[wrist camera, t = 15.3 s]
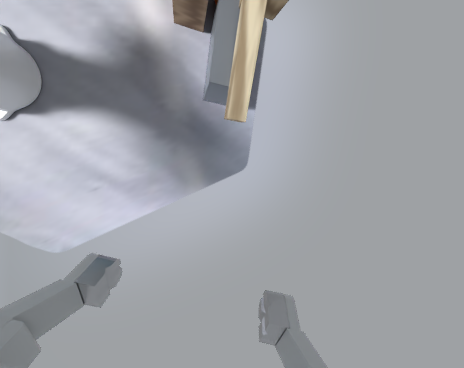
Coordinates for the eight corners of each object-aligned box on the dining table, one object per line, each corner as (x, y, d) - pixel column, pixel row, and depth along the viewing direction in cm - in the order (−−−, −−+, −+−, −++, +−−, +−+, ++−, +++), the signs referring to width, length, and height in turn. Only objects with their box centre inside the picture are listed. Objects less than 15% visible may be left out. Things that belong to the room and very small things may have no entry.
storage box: (202, 100, 49) (208, 81, 36) (211, 25, 47) (222, -28, 33) (232, 107, 52) (249, 92, 38) (242, 35, 49) (265, -10, 35)
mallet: (229, 118, 33) (264, 125, 35) (261, -90, 26) (303, -67, 28) (222, 119, 40) (252, 125, 42) (246, -47, 33) (281, -31, 34)
